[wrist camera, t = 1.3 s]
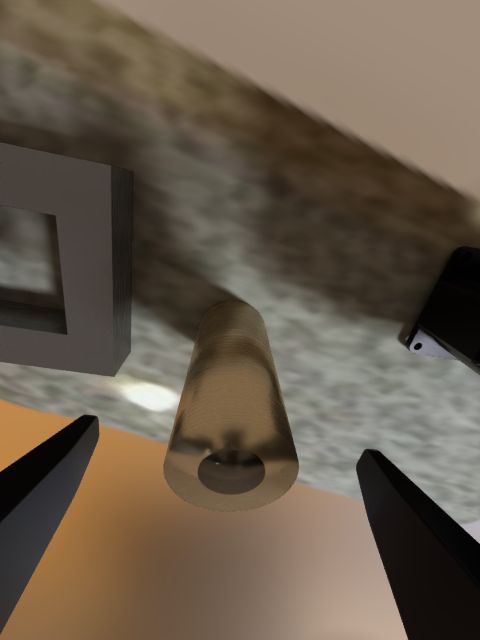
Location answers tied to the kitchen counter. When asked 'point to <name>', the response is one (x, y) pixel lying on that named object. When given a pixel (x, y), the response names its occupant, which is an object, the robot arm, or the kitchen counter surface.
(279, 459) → the bushing
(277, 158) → the kitchen counter surface
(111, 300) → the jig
